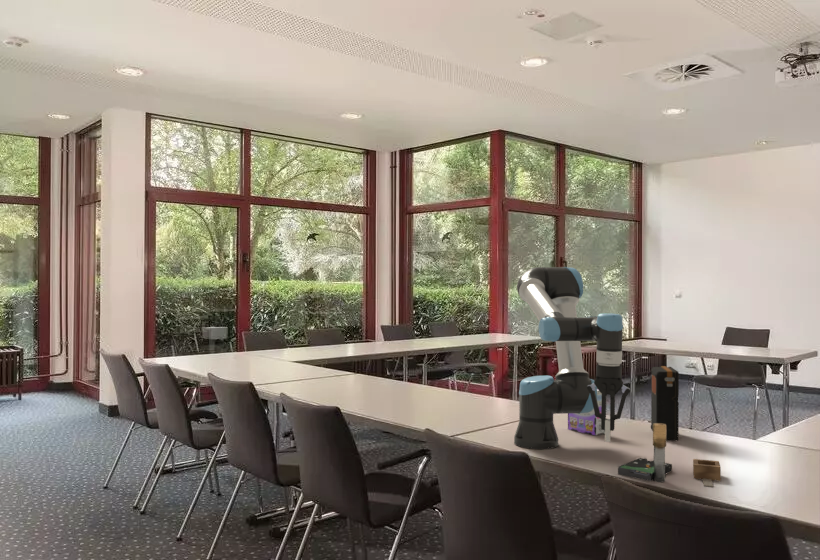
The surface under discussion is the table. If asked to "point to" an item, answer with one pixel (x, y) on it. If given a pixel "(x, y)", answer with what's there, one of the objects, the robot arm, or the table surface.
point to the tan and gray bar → (659, 451)
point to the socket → (706, 469)
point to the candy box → (587, 420)
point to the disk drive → (641, 469)
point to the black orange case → (665, 399)
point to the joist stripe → (707, 482)
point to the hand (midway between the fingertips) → (607, 440)
